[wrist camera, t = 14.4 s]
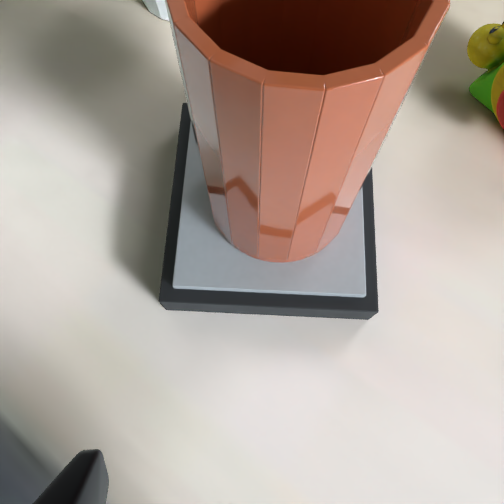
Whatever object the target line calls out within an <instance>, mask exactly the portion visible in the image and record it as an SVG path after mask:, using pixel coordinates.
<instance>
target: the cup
mask: <svg viewBox="0 0 504 504" xmlns="http://www.w3.org/2000/svg"><path fill="white" fill-rule="evenodd" d="M165 3H166V8H167V13H168V17H169V22H170V26H171V31H172V36H173V40H174V45H175V49H176V54H177V59H178V63H179V68H180V73H181V77H182V82H183V86H184V91H185V96H186V100H187V105H188V109H189V114H190V119H191V123H192V128H193V133H194V137H195V142H196V146H197V151H198V156H199V160H200V165H201V169H202V174H203V179H204V183H205V188H206V193H207V197H208V201H209V205H210V208H211V212H212V216H213V219H214V222H215V224H216V226H217V228H218V229H219V231H220V232H221V234H222V235H223V237H224V238H225V239H226V240H227V241H228V242H229V243H230V244H231V245H232V246H234V247H235V248H236V249H237V250H239V251H241V252H242V253H244V254H246V255H248V256H250V257H253V258H255V259H259V260H262V261H267V262H276V263H284V262H293V261H298V260H302V259H305V258H308V257H310V256H312V255H314V254H316V253H318V252H319V251H321V250H322V249H324V248H325V247H326V246H327V245H328V244H330V243H331V242H332V240H333V239H334V238H335V237H336V236H337V235H338V233H339V231H340V230H341V228H342V226H343V224H344V222H345V220H346V218H347V216H348V214H349V212H350V210H351V208H352V206H353V204H354V202H355V200H356V198H357V196H358V194H359V192H360V190H361V188H362V186H363V184H364V182H365V180H366V178H367V176H368V173H369V171H370V169H371V167H372V165H373V163H374V161H375V159H376V157H377V155H378V153H379V151H380V149H381V147H382V145H383V143H384V141H385V139H386V137H387V135H388V133H389V131H390V128H391V126H392V124H393V122H394V120H395V118H396V116H397V114H398V112H399V110H400V108H401V106H402V104H403V102H404V100H405V98H406V96H407V94H408V92H409V90H410V88H411V86H412V83H413V81H414V79H415V77H416V75H417V73H418V71H419V69H420V67H421V65H422V63H423V61H424V59H425V57H426V55H427V53H428V51H429V49H430V47H431V45H432V43H433V41H434V38H435V36H436V34H437V32H438V30H439V28H440V26H441V24H442V22H443V20H444V18H445V16H446V14H447V12H448V10H449V6H450V0H165Z"/></svg>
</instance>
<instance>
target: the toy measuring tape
mask: <svg viewBox="0 0 504 504" xmlns="http://www.w3.org/2000/svg"><path fill="white" fill-rule="evenodd" d="M467 53H468V57H469V59H470V61H471V62H472V63H473V64H474V65H476V66H477V67H480V68H486V69H488V71H486V72H485V73H484V74H483V75H481V76H480V77H479V78H478V79H476V80H475V81H474V82H473V83H472V84H471V85H470V87H469V91H470V93H471V94H472V96H473V97H475V98H476V99H477V100H479V101H480V102H481V103H482V104H483V105H484V106H486V107H487V108H488V109H490V110H491V111H492V112H493V113H494V114H495V116H496V118H497V120H498V121H499V123H500V125H501V127H502V128H503V129H504V22H503V23H502V25H500V24H487V25H484V26H482V27H480V28H479V29H478V30H476V31H475V32H474V33H473V35H472V36H471V38H470V39H469V42H468V46H467Z"/></svg>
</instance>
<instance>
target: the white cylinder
mask: <svg viewBox="0 0 504 504" xmlns="http://www.w3.org/2000/svg"><path fill="white" fill-rule="evenodd" d="M143 2H144V4H145V5H146V7H147V8H148V10H149V11H150V12H151V13H153V14H154V15H156V16H158V17H159V18H161V19H164V20H169V17H168V13H167V8H166V3H165V0H143Z"/></svg>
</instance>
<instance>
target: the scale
mask: <svg viewBox="0 0 504 504" xmlns="http://www.w3.org/2000/svg"><path fill="white" fill-rule="evenodd" d="M159 302H160V303H161V304H162V306H163V307H164V308H165V309H166V310H181V311H201V312H222V313H242V314H263V315H283V316H304V317H324V318H345V319H365V320H368V319H370V318H371V317H372V316H374V315H375V314H376V313H378V292H377V269H376V247H375V225H374V202H373V180H372V167H371V169H370V171H369V173H368V176H367V178H366V180H365V182H364V184H363V186H362V188H361V190H360V192H359V194H358V196H357V198H356V200H355V202H354V204H353V206H352V208H351V210H350V212H349V214H348V216H347V218H346V220H345V222H344V224H343V226H342V228H341V230H340V231H339V233H338V235H337V236H336V237H335V238H334V239H333V240H332V242H331V243H330V244H328V245H327V246H326V247H325V248H324V249H322V250H321V251H319V252H318V253H316V254H314V255H312V256H310V257H308V258H305V259H302V260H298V261H293V262H284V263H276V262H267V261H262V260H259V259H255V258H253V257H250V256H248V255H246V254H244V253H242V252H241V251H239V250H237V249H236V248H235V247H234V246H232V245H231V244H230V243H229V242H228V241H227V240H226V239H225V238H224V237H223V235H222V234H221V232H220V231H219V229H218V228H217V226H216V224H215V222H214V219H213V216H212V212H211V208H210V205H209V201H208V197H207V193H206V188H205V183H204V179H203V174H202V169H201V165H200V160H199V156H198V151H197V146H196V142H195V137H194V133H193V128H192V123H191V119H190V114H189V109H188V105H187V103H183V105H182V113H181V121H180V130H179V138H178V146H177V154H176V163H175V171H174V179H173V187H172V196H171V204H170V212H169V220H168V228H167V237H166V245H165V253H164V261H163V270H162V278H161V286H160V294H159Z"/></svg>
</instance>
